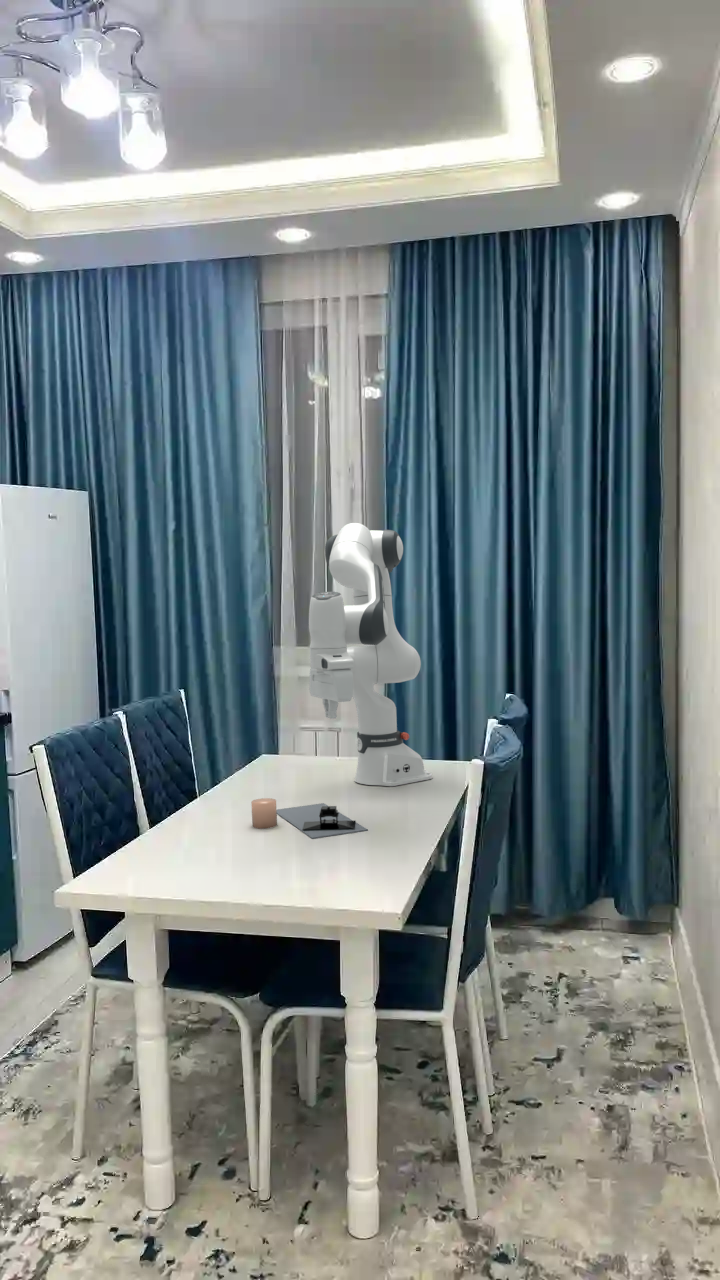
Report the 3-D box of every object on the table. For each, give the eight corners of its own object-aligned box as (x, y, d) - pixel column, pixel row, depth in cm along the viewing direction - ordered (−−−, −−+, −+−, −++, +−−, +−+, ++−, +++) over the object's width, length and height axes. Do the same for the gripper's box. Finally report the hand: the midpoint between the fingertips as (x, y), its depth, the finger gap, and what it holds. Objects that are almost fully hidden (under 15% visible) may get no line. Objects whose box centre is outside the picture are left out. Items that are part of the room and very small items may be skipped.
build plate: (302, 831, 237) (301, 812, 236) (304, 823, 244) (303, 804, 244) (354, 829, 236) (353, 810, 236) (355, 821, 244) (354, 802, 243)
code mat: (323, 804, 263) (323, 802, 263) (367, 830, 236) (367, 829, 236) (272, 811, 258) (272, 809, 258) (312, 838, 231) (312, 837, 231)
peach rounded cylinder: (272, 821, 248) (271, 797, 248) (280, 826, 243) (279, 802, 242) (249, 824, 246) (248, 800, 245) (256, 830, 240) (255, 805, 240)
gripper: (302, 659, 247) (304, 715, 247) (331, 662, 228) (333, 723, 229) (326, 657, 249) (328, 713, 250) (356, 661, 230) (359, 721, 231)
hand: (330, 718), depth 239 cm, fingers closed
